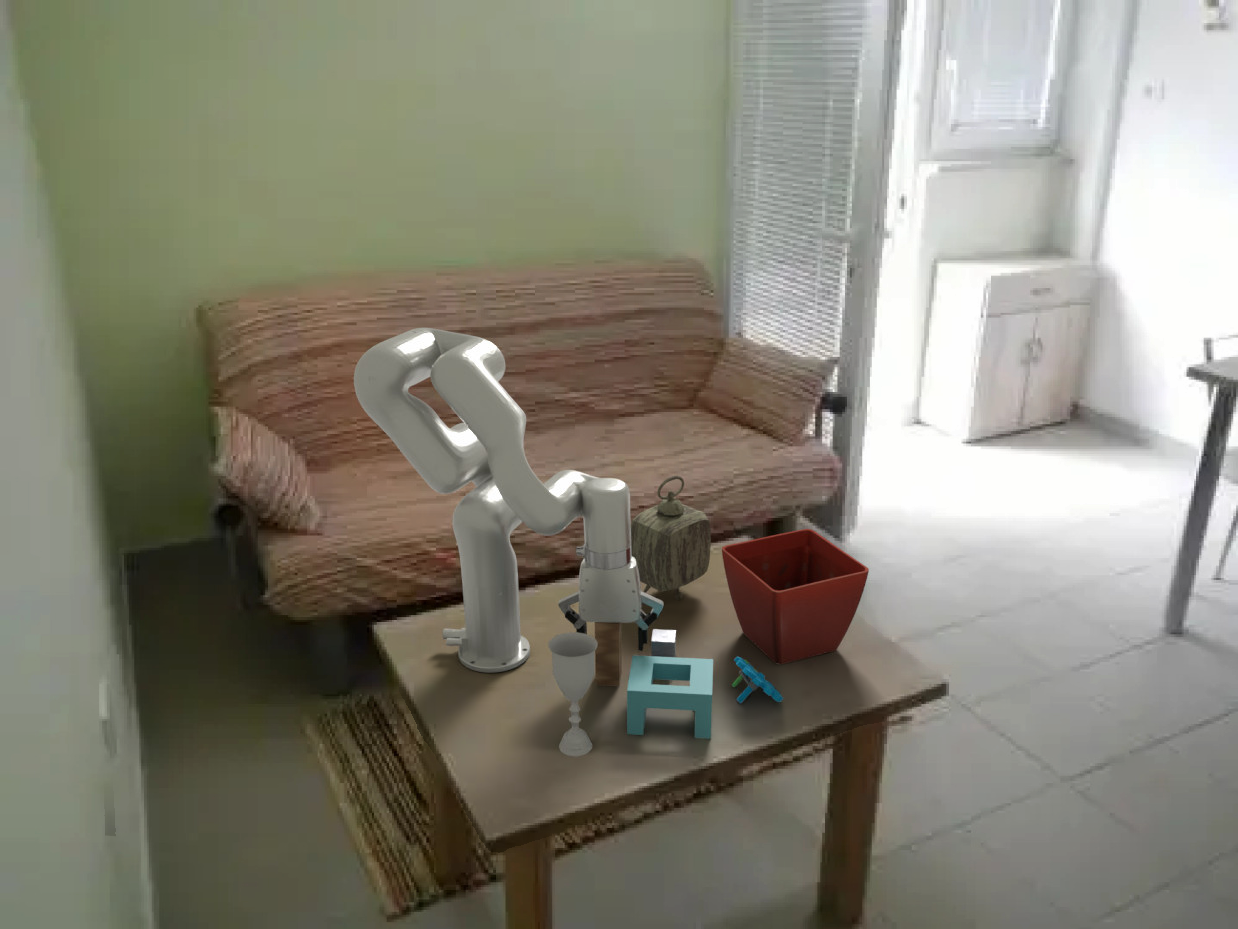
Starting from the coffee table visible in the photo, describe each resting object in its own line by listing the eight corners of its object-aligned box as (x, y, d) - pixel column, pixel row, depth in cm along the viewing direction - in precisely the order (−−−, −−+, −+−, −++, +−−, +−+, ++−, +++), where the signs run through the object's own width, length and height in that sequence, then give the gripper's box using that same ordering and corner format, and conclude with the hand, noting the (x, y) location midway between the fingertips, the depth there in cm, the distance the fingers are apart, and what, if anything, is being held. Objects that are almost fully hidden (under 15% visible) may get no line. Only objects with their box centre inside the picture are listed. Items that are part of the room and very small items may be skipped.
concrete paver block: (651, 671, 177) (651, 641, 175) (652, 659, 181) (652, 629, 179) (674, 672, 177) (674, 642, 175) (675, 660, 181) (676, 630, 178)
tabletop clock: (679, 576, 210) (681, 461, 201) (712, 591, 204) (716, 474, 194) (628, 600, 201) (627, 481, 191) (661, 617, 194) (662, 495, 185)
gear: (794, 705, 165) (751, 670, 162) (769, 732, 165) (726, 697, 162) (770, 676, 175) (730, 642, 172) (747, 701, 176) (706, 668, 173)
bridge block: (627, 734, 161) (627, 690, 158) (632, 697, 170) (632, 655, 167) (710, 738, 160) (712, 694, 157) (711, 701, 169) (713, 659, 166)
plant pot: (716, 627, 191) (719, 545, 185) (804, 606, 198) (810, 526, 192) (770, 680, 175) (774, 592, 168) (864, 656, 181) (872, 570, 175)
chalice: (547, 757, 156) (543, 654, 149) (557, 730, 162) (554, 630, 155) (594, 762, 154) (592, 659, 148) (603, 735, 161) (601, 634, 154)
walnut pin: (595, 685, 174) (594, 622, 169) (598, 672, 177) (597, 610, 173) (619, 686, 173) (618, 623, 169) (621, 673, 177) (621, 611, 172)
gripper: (551, 563, 164) (558, 657, 170) (660, 565, 162) (663, 659, 168) (559, 543, 171) (564, 634, 177) (663, 544, 169) (665, 636, 175)
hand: (612, 646), depth 173 cm, fingers open, 9 cm apart
